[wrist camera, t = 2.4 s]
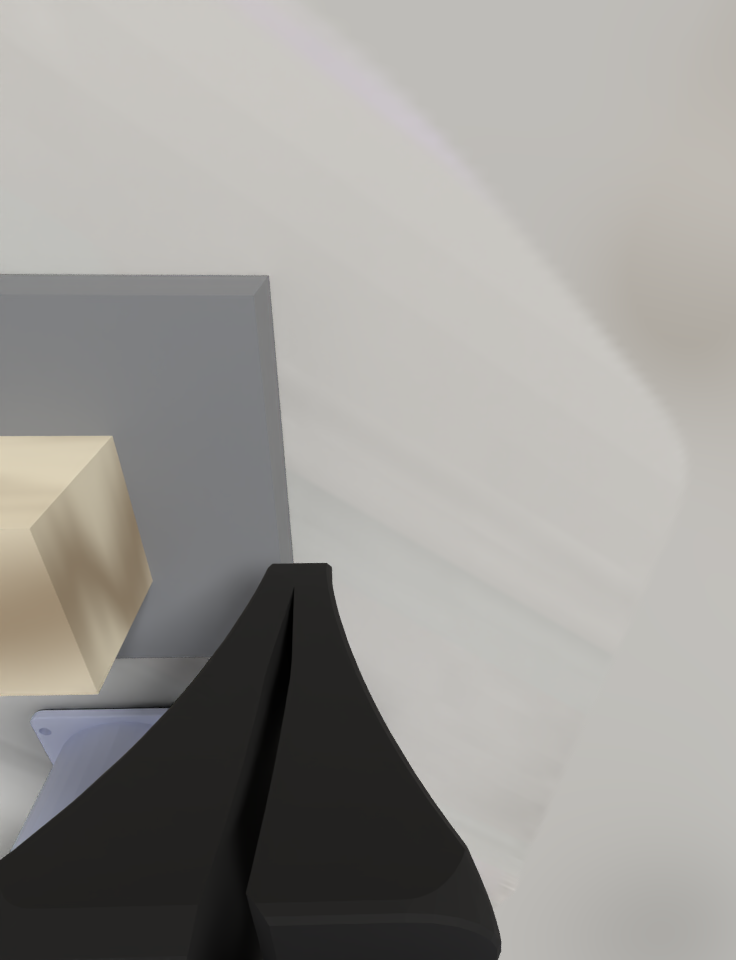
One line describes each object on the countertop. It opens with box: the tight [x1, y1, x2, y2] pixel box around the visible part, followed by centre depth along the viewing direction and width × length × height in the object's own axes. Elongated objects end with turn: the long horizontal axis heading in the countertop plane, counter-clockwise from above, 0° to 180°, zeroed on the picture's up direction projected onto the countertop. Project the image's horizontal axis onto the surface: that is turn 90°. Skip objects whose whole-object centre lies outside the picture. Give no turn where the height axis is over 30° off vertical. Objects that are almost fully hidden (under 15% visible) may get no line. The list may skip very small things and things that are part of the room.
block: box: [0, 436, 153, 696], centre depth 13 cm, size 5×5×4 cm
